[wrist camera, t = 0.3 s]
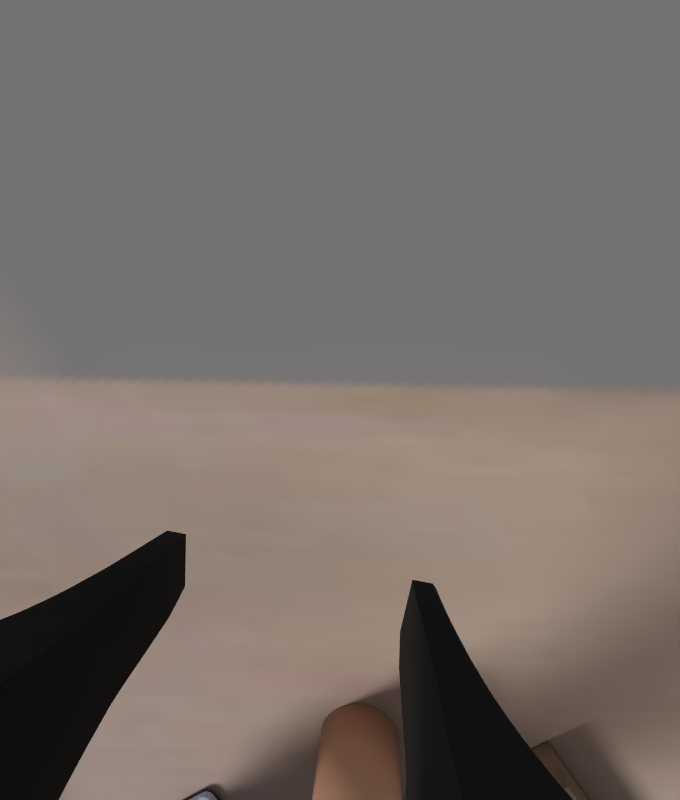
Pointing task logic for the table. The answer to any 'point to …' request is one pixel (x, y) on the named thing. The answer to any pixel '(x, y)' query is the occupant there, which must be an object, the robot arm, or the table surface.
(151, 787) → the table surface
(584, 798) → the plinth
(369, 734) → the terracotta cylinder
